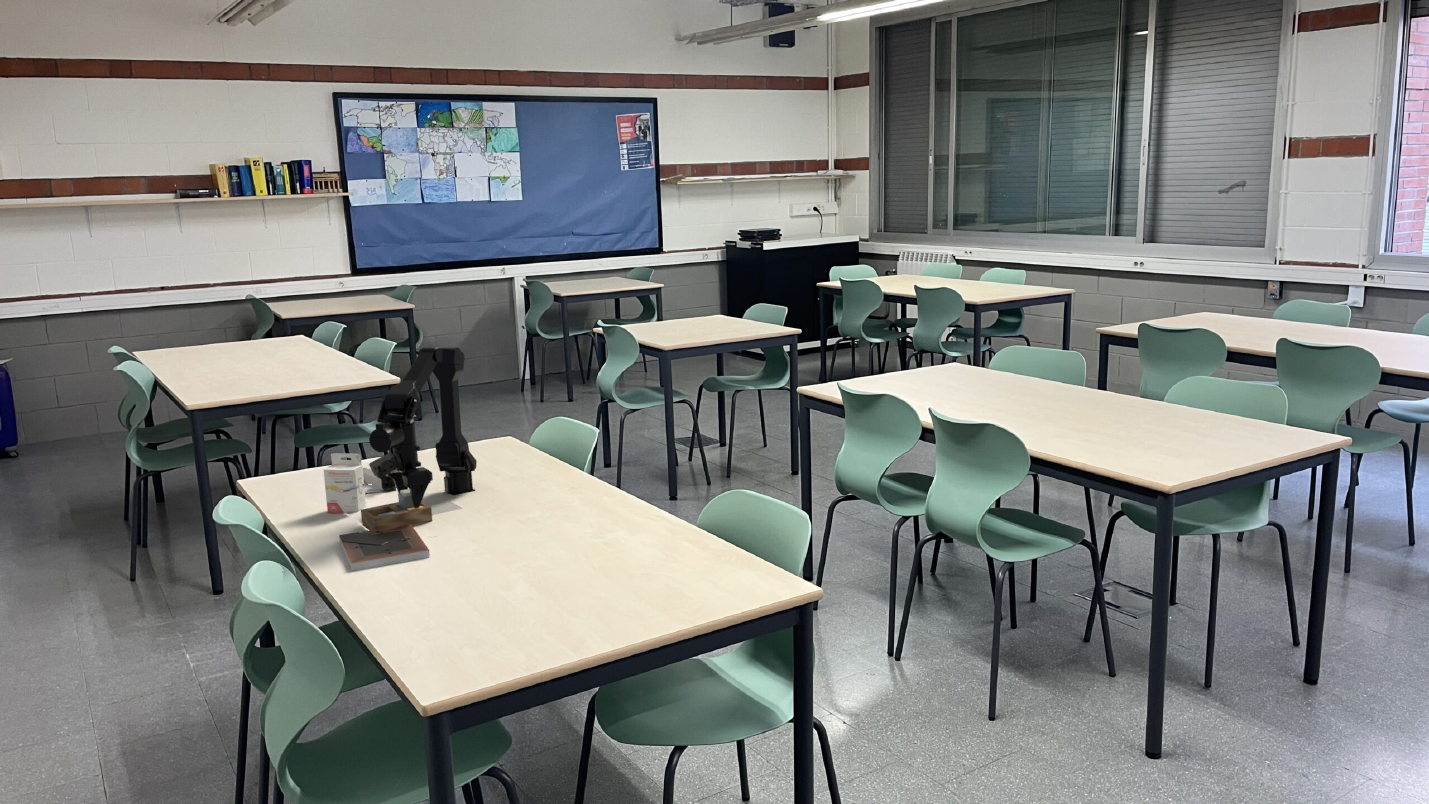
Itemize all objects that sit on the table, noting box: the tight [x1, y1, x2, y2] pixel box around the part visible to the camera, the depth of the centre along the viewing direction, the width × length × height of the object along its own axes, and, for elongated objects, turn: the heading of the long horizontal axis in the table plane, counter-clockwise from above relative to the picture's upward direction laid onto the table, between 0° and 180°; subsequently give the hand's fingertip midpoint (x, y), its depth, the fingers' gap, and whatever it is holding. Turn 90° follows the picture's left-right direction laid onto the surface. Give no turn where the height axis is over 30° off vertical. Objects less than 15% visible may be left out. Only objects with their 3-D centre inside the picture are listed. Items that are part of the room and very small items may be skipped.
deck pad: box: [429, 501, 463, 516], centre depth 261 cm, size 8×8×1 cm
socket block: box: [360, 501, 433, 531], centre depth 250 cm, size 14×10×4 cm
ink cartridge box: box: [323, 453, 367, 514], centre depth 261 cm, size 9×5×15 cm, turn 84°
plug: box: [397, 488, 421, 510], centre depth 252 cm, size 4×4×7 cm
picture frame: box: [338, 524, 431, 572], centre depth 233 cm, size 16×2×22 cm
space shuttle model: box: [363, 466, 397, 494], centre depth 288 cm, size 16×25×10 cm, turn 38°
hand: (409, 503), depth 252 cm, fingers open, 9 cm apart
